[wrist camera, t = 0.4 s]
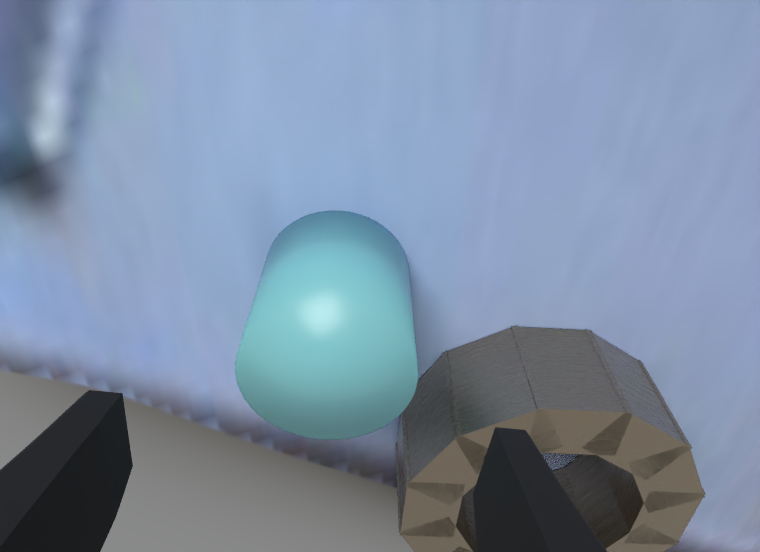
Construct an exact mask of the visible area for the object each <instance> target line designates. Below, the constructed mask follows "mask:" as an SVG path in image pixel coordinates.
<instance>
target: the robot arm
mask: <svg viewBox="0 0 760 552" xmlns="http://www.w3.org/2000/svg"><path fill="white" fill-rule="evenodd" d="M132 466H133V465H132V458H131V451H130V444H129V437H128V430H127V423H126V416H125V409H124V402H123V395H122V393H113V392H102V391H91V390H89V391H88V392H86V393H85V394H84V395H83V396H81V397H80V398H79V399H78V400H77V401H76V402H75V403H74V404H73V405H72V406H71V407H70V408H68V409H67V410H66V411H65V412H64V413H63V414H62V415H61V416H60V417H59V418H58V419H57V420H56V421H55V422H53V423H52V424H51V425H50V426H49V427H48V428H47V429H46V430H45V431H44V432H42V434H40V435H39V436H38V437H37V438H36V439H35V440H34V441H33V442H31V443H30V444H29V445H28V446H27V447H26V448H25V449H24V450H23V451H22V452H20V453H19V454H18V455H17V456H16V457H14V458H13V459H12V460H11V461H10V462H9V463H8V464H7V465H5V466H4V467H3V468H2V469H1V470H0V552H100V551H101V548H102V546H103V544H104V542H105V540H106V538H107V535H108V533H109V531H110V529H111V527H112V524H113V522H114V520H115V517H116V515H117V512H118V509H119V506H120V503H121V500H122V497H123V494H124V491H125V488H126V485H127V482H128V479H129V475H130V472H131V469H132ZM473 504H474V518H475V530H476V541H477V549H478V552H607V550H606V549H605V548H604V546H603V545H602V543H601V542H600V541H599V539H598V538H597V537H596V535H595V534H594V532H593V531H592V529H591V528H590V527H589V525H588V524H587V522H586V521H585V519H584V518H583V517H582V515H581V514H580V512H579V511H578V510H577V508H576V507H575V505H574V504H573V502H572V501H571V499H570V498H569V496H568V495H567V493H566V492H565V490H564V489H563V487H562V486H561V484H560V483H559V481H558V480H557V478H556V476H555V475H554V473H553V472H552V470H551V469H550V467H549V466H548V464H547V462H546V461H545V459H544V458H543V456H542V455H541V453H540V451H539V450H538V448H537V447H536V445H535V443H534V442H533V440H532V439H531V437H530V436H529V434H528V433H527V431H526V430H521V429H510V428H499V427H495V429H494V432H493V435H492V438H491V441H490V444H489V447H488V450H487V453H486V456H485V459H484V462H483V465H482V468H481V471H480V474H479V477H478V480H477V483H476V486H475V488H474V491H473Z"/></svg>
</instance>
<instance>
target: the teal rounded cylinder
mask: <svg viewBox="0 0 760 552" xmlns="http://www.w3.org/2000/svg"><path fill="white" fill-rule="evenodd" d="M235 374H236V380H237V384H238V386H239V389H240V391H241V393H242V395H243V397H244V399H245V400H246V401H247V403H248V404H249V406H250V407H251V408H252V409H253V410H254V411H255V412H256V413H257V414H258V415H260V416H261V417H262V418H263V419H264V420H266V421H268V422H269V423H271V424H272V425H274V426H276V427H278V428H280V429H282V430H284V431H287V432H289V433H292V434H295V435H299V436H302V437H307V438H313V439H323V440H339V439H348V438H354V437H359V436H362V435H365V434H369V433H371V432H373V431H376V430H378V429H380V428H382V427H384V426H386V425H387V424H389V423H390V422H392V421H393V420H394V419H396V418H397V417H398V416H399V415H400V414H401V413H402V412H403V411H404V410H405V408H406V407H407V406H408V404H409V403H410V401H411V399H412V398H413V395H414V393H415V390H416V387H417V382H418V364H417V353H416V342H415V331H414V320H413V309H412V298H411V287H410V276H409V267H408V261H407V258H406V255H405V252H404V250H403V248H402V246H401V245H400V243H399V242H398V240H397V239H396V238H395V237H394V235H393V234H392V233H391V232H390V231H388V230H387V229H386V228H385V227H384V226H382V225H381V224H379V223H378V222H376V221H374V220H372V219H370V218H368V217H365V216H363V215H360V214H356V213H352V212H346V211H324V212H318V213H314V214H310V215H307V216H305V217H302V218H300V219H298V220H296V221H294V222H293V223H291V224H290V225H289V226H287V227H286V228H285V229H284V230H283V231H282V232H281V233H280V234H279V235H278V236H277V237H276V239H275V240H274V242H273V244H272V245H271V247H270V250H269V252H268V255H267V258H266V261H265V265H264V268H263V271H262V274H261V278H260V281H259V284H258V287H257V291H256V294H255V297H254V300H253V304H252V307H251V310H250V313H249V317H248V320H247V323H246V326H245V330H244V333H243V336H242V339H241V343H240V346H239V349H238V352H237V356H236V362H235Z"/></svg>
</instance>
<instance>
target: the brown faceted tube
mask: <svg viewBox="0 0 760 552" xmlns="http://www.w3.org/2000/svg"><path fill="white" fill-rule="evenodd" d="M495 427H499V428H510V429H521V430H526V431H527V433H528V434H529V436H530V437H531V439H532V440H533V442H534V443H535V445H536V447H537V448H538V450H539V451H540V453H541V454H542V453H561V454H581V455H580V456H579V457H578V458H576V459H575V460H574V461H573V462H571V463H570V464H569V465H568V466H566V467H564V468H561V469H557V470H554V471H552V472H553V473H554V475H555V476H556V478H557V480H558V481H559V483H560V484H561V486H562V487H563V489H564V490H565V492H566V493H567V495H568V496H569V498H570V499H571V501H572V502H573V504H574V505H575V507H576V508H577V510H578V511H579V512H580V514H581V515H582V517H583V518H584V519H585V521H586V522H587V524H588V525H589V527H590V528H591V529H592V531H593V532H594V534H595V535H596V537H597V538H598V539H599V541H600V542H601V543H602V545H603V546H604V548H605V549H606V550H607V552H664V551H666V550H667V549H669V548H670V547H672V546H673V545H676V544H677V543H678V542H679V539H680V537H681V535H682V534H683V532H684V530H685V528H686V527H687V525H688V523H689V521H690V520H691V518H692V516H693V514H694V513H695V511H696V509H697V507H698V505H699V504H700V502H701V500H702V498H704V495H705V492H704V490H703V488H702V486H701V483H700V480H699V476H698V473H697V470H696V466H695V463H694V460H693V456H692V453H691V450H690V449H691V448H692V447H691V445H690V444H689V442H688V440H687V439H686V437H685V435H684V433H683V432H682V430H681V428H680V427H679V425H678V423H677V421H676V420H675V418H674V416H673V415H672V413H671V411H670V409H669V408H668V406H667V404H666V402H665V401H664V399H663V397H662V396H661V394H660V392H659V390H658V389H657V387H656V385H655V384H654V382H653V380H652V378H651V377H650V375H649V373H648V372H647V370H646V368H645V366H644V365H643V363H641V361H640V360H637V359H635V358H633V357H632V356H630V355H628V354H627V353H625V352H623V351H622V350H620V349H618V348H617V347H615V346H613V345H612V344H610V343H609V342H607V341H605V340H604V339H602V338H600V337H599V336H597V335H595V334H594V333H592V331H591V330H587V329H586V330H573V329H553V328H533V327H518V326H514V327H513V326H511V328H509V329H506V330H504V331H501V332H498V333H496V334H493V335H490V336H488V337H485V338H482V339H480V340H477V341H474V342H472V343H469V344H466V345H463V346H461V347H458V348H455V349H453V350H450V351H446V352H445V353H442V356H441V357H440V358H439V359H438V360H437V361H436V362H435V363H434V364H433V365H432V366H431V367H430V369H429V370H428V371H427V372H426V373H425V374H424V375H423V376H422V377H421V378H420V379H419V380H418V382H417V387H416V390H415V393H414V395H413V398H412V399H411V401H410V403H409V404H408V406H407V407H406V408H405V410H404V411H403V412H402V413H401V414H400V422H399V431H398V439H397V443H396V466H397V492H398V520H399V533H400V535H402V536H403V538H404V539H405V540H406V541H407V542H408V544H409V545H410V546H411V548H412V549H413V550H414V552H478V549H477V541H476V530H475V518H474V504H473V491H474V488H475V486H476V483H477V480H478V477H479V474H480V471H481V468H482V465H483V462H484V459H485V456H486V453H487V450H488V447H489V444H490V441H491V438H492V435H493V432H494V429H495Z"/></svg>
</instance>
